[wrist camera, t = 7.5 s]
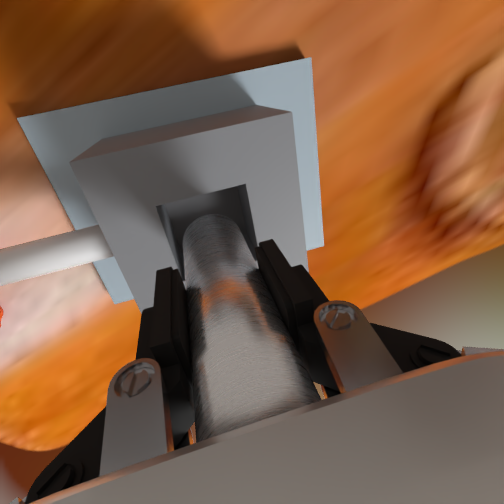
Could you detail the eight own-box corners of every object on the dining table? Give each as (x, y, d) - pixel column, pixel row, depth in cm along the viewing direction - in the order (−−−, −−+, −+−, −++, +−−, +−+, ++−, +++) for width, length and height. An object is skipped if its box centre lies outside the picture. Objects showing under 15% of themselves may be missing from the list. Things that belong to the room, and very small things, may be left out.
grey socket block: (305, 58, 20) (373, 43, 13) (319, 240, 27) (368, 292, 20) (-47, 131, 18) (-184, 158, 11) (67, 310, 25) (27, 395, 18)
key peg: (235, 207, 15) (378, 476, 5) (246, 259, 16) (374, 548, 6) (174, 223, 15) (182, 550, 4) (192, 274, 16) (228, 607, 6)
